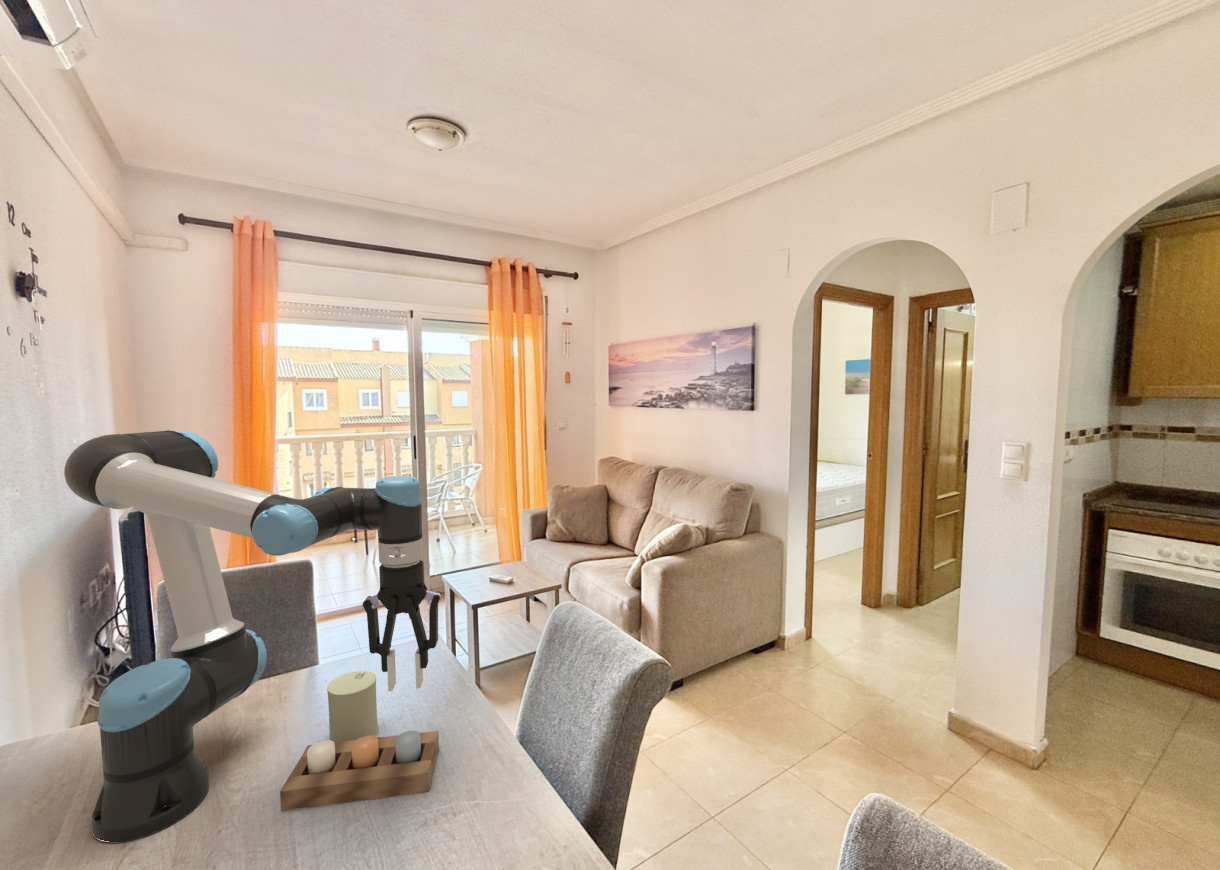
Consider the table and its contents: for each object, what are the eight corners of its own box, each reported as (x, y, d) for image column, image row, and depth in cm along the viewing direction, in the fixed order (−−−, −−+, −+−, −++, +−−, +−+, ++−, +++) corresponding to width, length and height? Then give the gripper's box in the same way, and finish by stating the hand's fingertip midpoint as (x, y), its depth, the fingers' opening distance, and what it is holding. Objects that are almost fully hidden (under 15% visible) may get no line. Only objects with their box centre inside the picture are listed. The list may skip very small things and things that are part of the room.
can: (387, 723, 113) (384, 669, 112) (362, 751, 104) (360, 693, 103) (346, 720, 114) (344, 667, 113) (319, 749, 105) (316, 691, 104)
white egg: (304, 782, 93) (303, 757, 93) (313, 765, 97) (312, 741, 97) (330, 779, 94) (329, 754, 93) (339, 762, 98) (338, 738, 98)
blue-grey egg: (393, 771, 95) (392, 747, 95) (398, 755, 100) (398, 732, 99) (418, 768, 96) (418, 744, 96) (423, 752, 101) (422, 729, 100)
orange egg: (349, 776, 94) (348, 752, 94) (356, 760, 98) (355, 736, 98) (375, 773, 95) (374, 749, 95) (381, 757, 99) (380, 734, 99)
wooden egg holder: (281, 810, 89) (280, 791, 89) (308, 762, 101) (307, 745, 100) (428, 791, 93) (428, 772, 93) (438, 747, 105) (438, 730, 105)
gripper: (344, 571, 90) (349, 702, 92) (447, 565, 93) (451, 692, 95) (357, 558, 98) (362, 679, 99) (453, 553, 101) (456, 671, 102)
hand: (406, 685), depth 97 cm, fingers open, 4 cm apart
